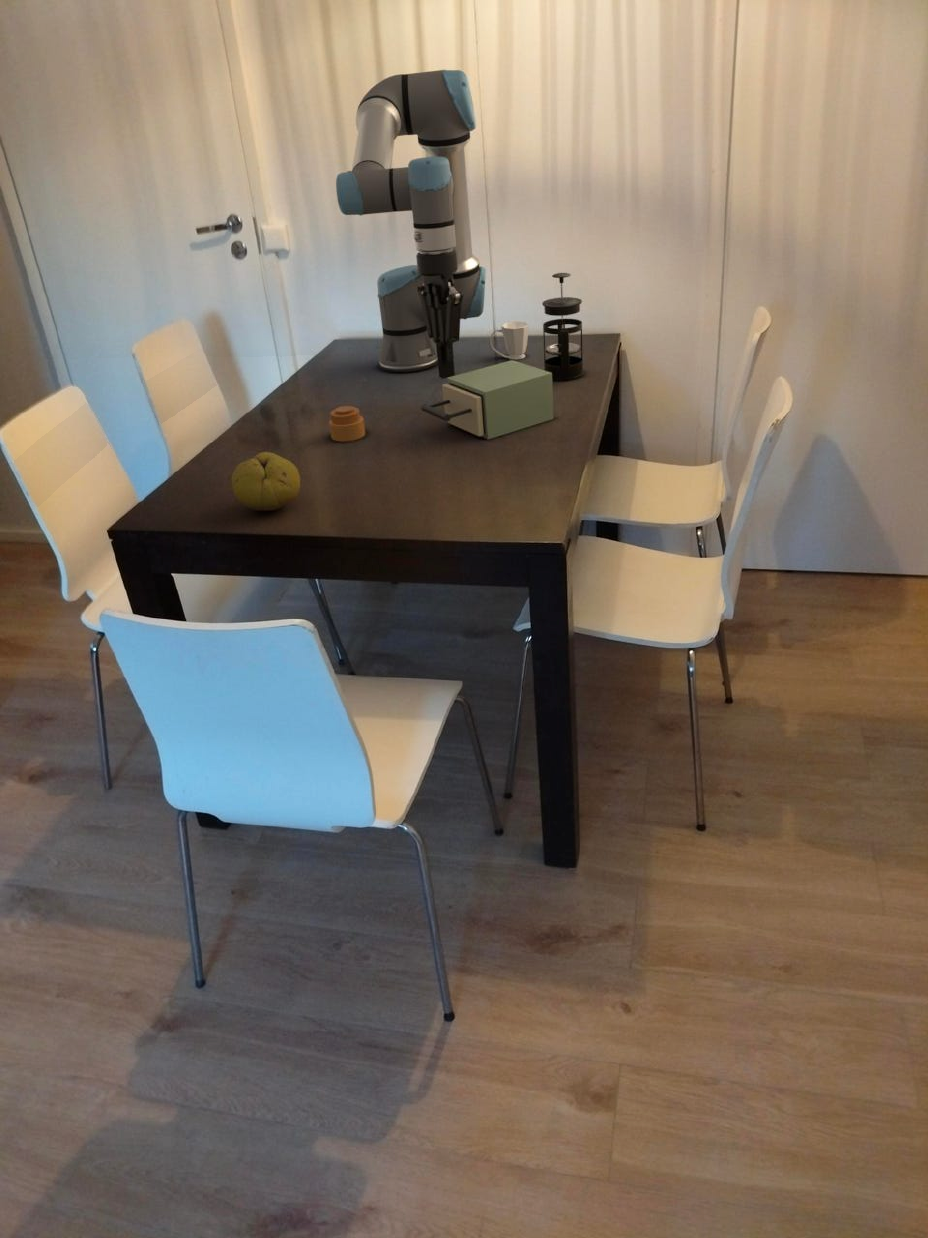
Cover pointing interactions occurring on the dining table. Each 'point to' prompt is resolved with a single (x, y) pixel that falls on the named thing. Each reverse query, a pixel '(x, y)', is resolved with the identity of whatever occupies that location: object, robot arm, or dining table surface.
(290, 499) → the fruit
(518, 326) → the cup
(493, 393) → the cabinet
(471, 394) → the drawer
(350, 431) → the stepped orange cylinder
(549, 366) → the french press
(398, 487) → the dining table surface
